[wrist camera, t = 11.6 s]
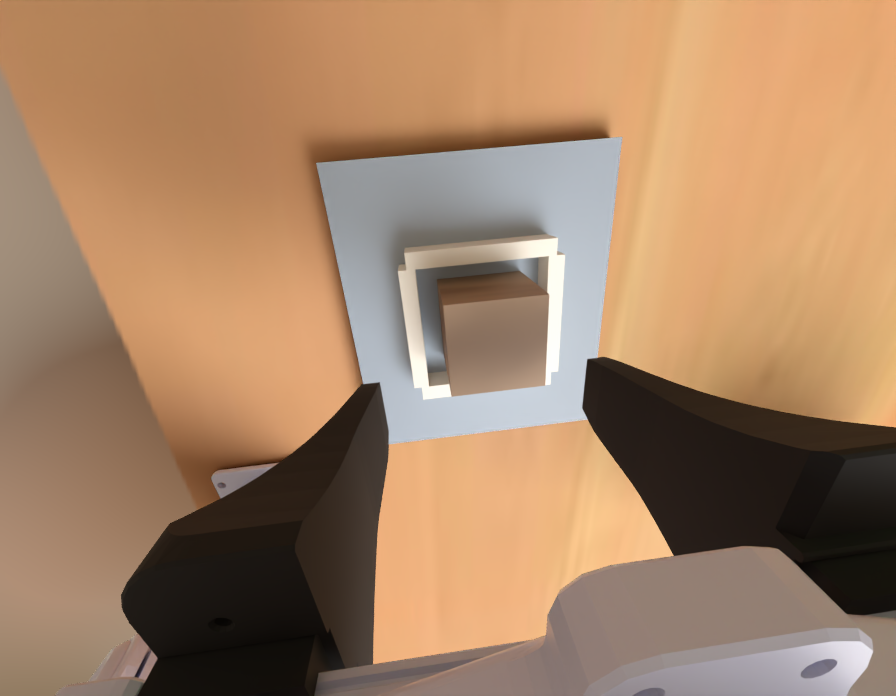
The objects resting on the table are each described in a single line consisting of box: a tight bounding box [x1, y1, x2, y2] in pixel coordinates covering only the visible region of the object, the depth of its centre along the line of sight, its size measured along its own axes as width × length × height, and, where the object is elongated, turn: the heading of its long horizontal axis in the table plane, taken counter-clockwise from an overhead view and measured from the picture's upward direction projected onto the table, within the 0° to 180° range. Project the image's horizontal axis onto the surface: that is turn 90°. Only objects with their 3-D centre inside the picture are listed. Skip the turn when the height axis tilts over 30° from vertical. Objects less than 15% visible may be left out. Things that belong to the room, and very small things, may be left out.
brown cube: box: [437, 271, 549, 397], centre depth 17 cm, size 4×4×4 cm
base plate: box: [316, 137, 622, 444], centre depth 19 cm, size 16×14×2 cm
